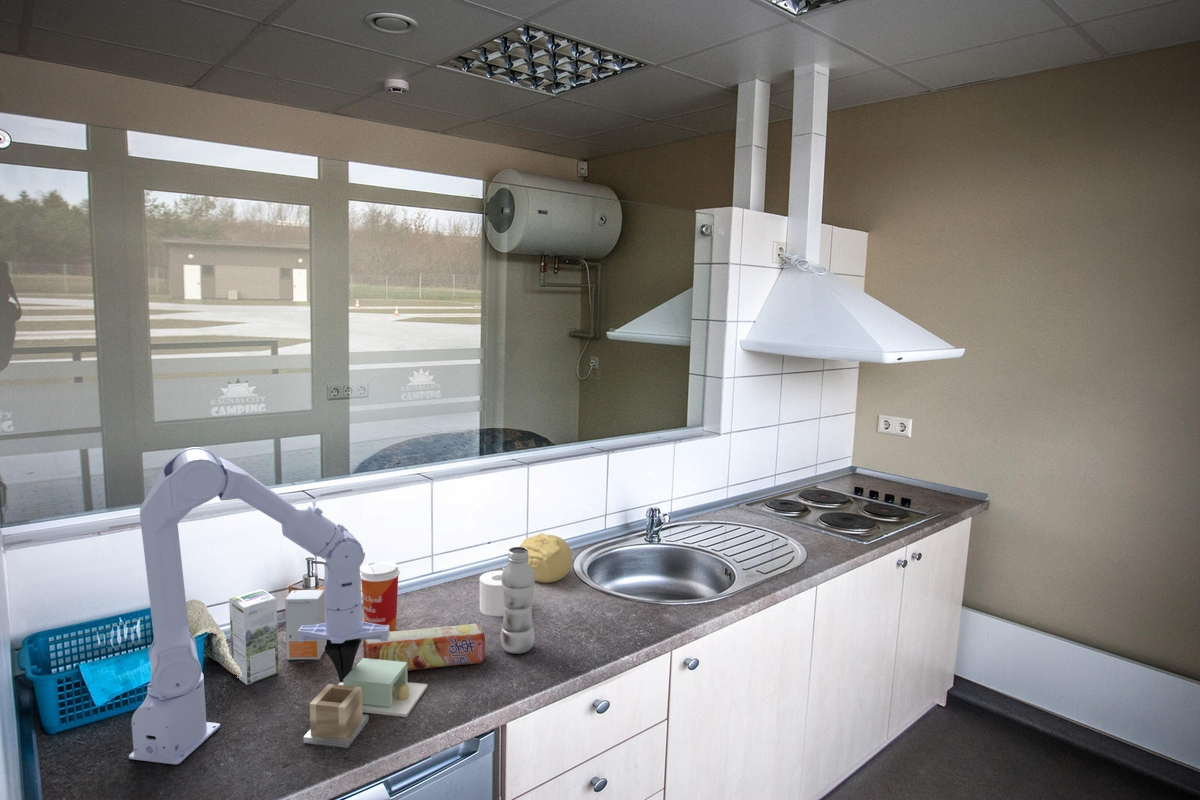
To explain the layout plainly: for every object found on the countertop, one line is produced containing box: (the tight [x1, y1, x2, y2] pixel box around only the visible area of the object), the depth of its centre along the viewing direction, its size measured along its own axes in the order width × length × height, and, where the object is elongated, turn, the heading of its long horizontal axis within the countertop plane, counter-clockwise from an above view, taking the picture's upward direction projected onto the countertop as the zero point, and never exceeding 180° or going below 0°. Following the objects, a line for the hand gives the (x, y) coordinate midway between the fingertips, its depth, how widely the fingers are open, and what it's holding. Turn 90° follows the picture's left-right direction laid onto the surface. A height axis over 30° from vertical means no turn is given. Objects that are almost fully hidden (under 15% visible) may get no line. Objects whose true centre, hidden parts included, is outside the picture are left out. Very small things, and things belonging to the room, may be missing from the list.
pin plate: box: [302, 713, 370, 749], centre depth 111 cm, size 7×7×4 cm
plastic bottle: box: [499, 546, 536, 655], centre depth 136 cm, size 6×7×20 cm
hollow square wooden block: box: [309, 683, 364, 738], centre depth 111 cm, size 6×6×5 cm
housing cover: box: [343, 657, 408, 707], centre depth 120 cm, size 7×8×4 cm
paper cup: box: [360, 560, 401, 632], centre depth 142 cm, size 8×8×14 cm
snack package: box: [362, 623, 486, 672], centre depth 131 cm, size 21×7×7 cm, turn 108°
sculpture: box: [519, 533, 573, 584], centre depth 172 cm, size 12×12×11 cm
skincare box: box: [284, 589, 327, 661], centre depth 133 cm, size 6×4×12 cm
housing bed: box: [337, 681, 428, 718], centre depth 121 cm, size 9×15×2 cm, turn 82°
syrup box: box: [228, 588, 280, 686], centre depth 126 cm, size 6×6×14 cm
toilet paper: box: [479, 567, 506, 617], centre depth 157 cm, size 8×11×7 cm
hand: (345, 679), depth 121 cm, fingers closed
